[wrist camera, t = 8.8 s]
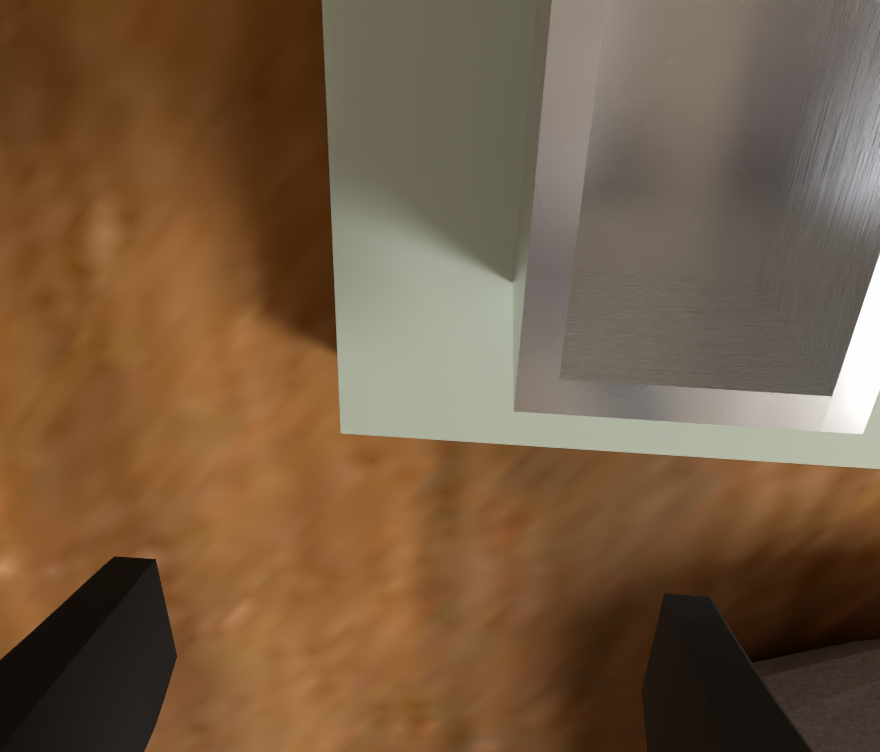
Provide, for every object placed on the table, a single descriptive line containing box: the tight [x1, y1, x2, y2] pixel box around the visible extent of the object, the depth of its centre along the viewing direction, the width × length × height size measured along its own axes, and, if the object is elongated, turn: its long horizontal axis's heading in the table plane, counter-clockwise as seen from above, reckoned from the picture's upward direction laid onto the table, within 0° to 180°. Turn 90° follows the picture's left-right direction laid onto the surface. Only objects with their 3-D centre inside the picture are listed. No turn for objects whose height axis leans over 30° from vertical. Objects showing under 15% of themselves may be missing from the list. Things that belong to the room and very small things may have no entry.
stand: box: [322, 0, 880, 469], centre depth 15 cm, size 12×16×3 cm
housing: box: [513, 0, 880, 434], centre depth 11 cm, size 5×9×4 cm, turn 178°
